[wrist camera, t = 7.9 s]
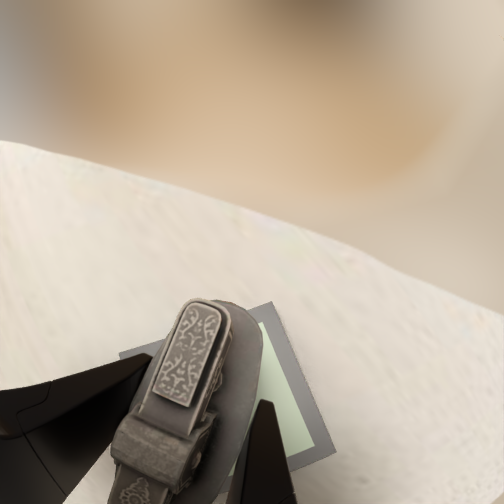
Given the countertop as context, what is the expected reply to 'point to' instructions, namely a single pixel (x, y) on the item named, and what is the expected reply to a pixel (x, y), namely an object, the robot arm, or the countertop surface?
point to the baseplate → (280, 394)
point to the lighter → (190, 408)
